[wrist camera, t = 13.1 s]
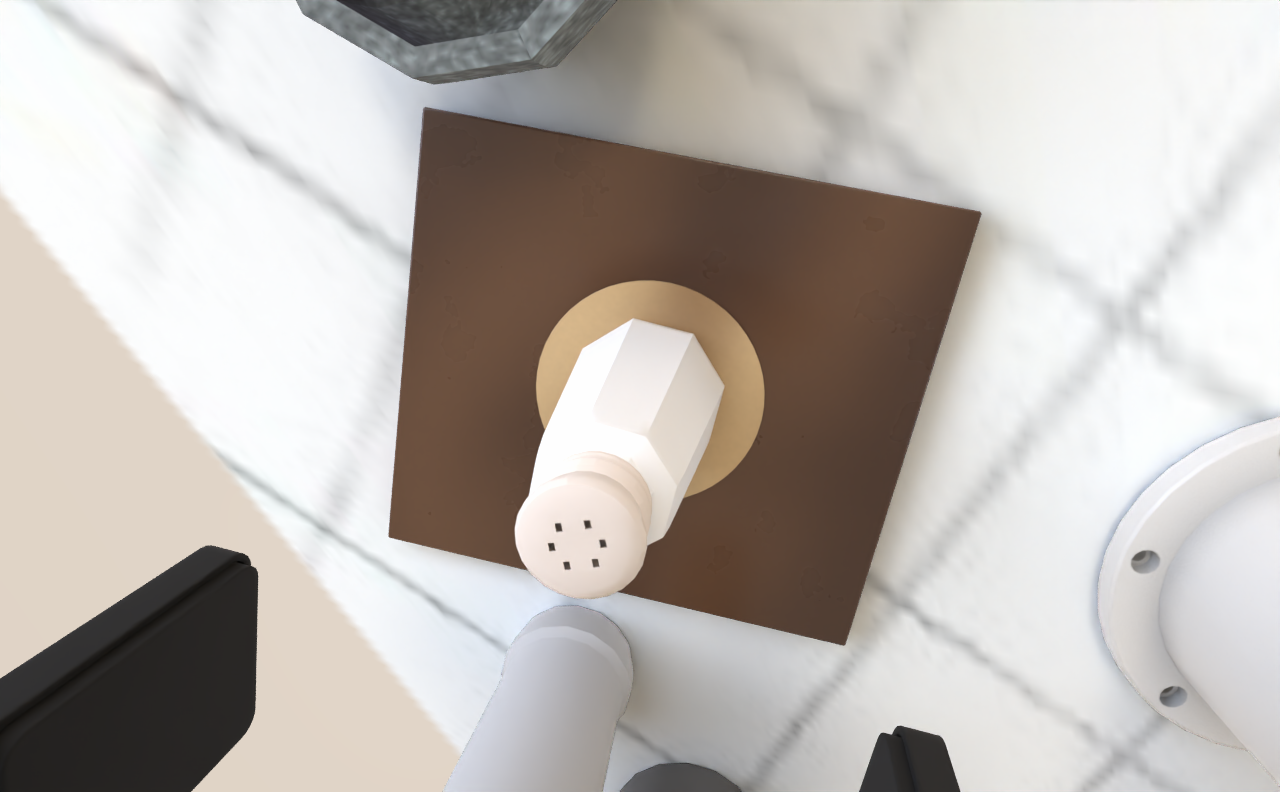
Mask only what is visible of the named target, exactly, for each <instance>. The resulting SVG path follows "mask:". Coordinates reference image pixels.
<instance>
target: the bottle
mask: <svg viewBox="0 0 1280 792" xmlns="http://www.w3.org/2000/svg"><path fill="white" fill-rule="evenodd" d="M501 675H502V678H501V680H500V682H499V684H498V686H497V688H496V690H495V692H494V694H493V696H492V698H491V700H490V701H489V703H488V705H487V707H486V709H485V711H484V713H483V715H482V717H481V719H480V721H479V723H478V724H477V726H476V728H475V730H474V732H473V734H472V736H471V738H470V740H469V742H468V744H467V746H466V747H465V749H464V751H463V753H462V755H461V757H460V759H459V761H458V763H457V765H456V767H455V769H454V770H453V772H452V775H451V776H450V779H449V780H448V782H447V784H446V786H445V788H444V790H443V791H442V792H603V787H604V782H605V777H606V773H607V768H608V763H609V758H610V753H611V749H612V744H613V739H614V734H615V729H616V725H617V720H618V719H619V718H620V717H621V716H622V715H623V714H624V713H625V710H626V706H627V703H628V700H629V697H630V694H631V689H632V684H633V676H634V675H633V665H632V659H631V653H630V647H629V643H628V642H627V640H626V639H625V637H624V636H623V634H622V633H621V631H620V629H619V628H618V626H617V625H615V624H614V623H613V622H611V621H610V620H609V619H607V618H606V617H605V616H603V615H602V614H601V613H599V612H596V611H593V610H590V609H587V608H583V607H580V606H557V607H553V608H551V609H549V610H547V611H545V612H542V613H540V614H538V615H536V616H535V617H533V618H532V619H531V620H530V621H529V623H528V624H527V625H526V626H525V627H524V628H523V630H522V631H521V632H520V633H519V634H518V635H517V637H516V638H515V639H514V641H513V642H512V644H511V646H510V647H509V649H508V651H507V653H506V657H505V661H504V665H503V669H502V673H501Z"/></svg>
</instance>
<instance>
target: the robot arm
mask: <svg viewBox="0 0 1280 792" xmlns="http://www.w3.org/2000/svg"><path fill="white" fill-rule="evenodd" d="M257 604H258V572H257V570H256V568H254V567H252V566H251V562H250V559H249V558H248V556H247V555H245V554H243V553H239V552H235V551H231V550H227V549H223V548H220V547H216V546H205V547H203V548H200V549H199V550H197V551H196V552H194V553H193V554H191V555H189V556H188V557H186V558H185V559H184V560H182V561H180V562H179V563H177V564H176V565H174V566H173V567H171V568H170V569H168V570H166V571H165V572H164V573H162V574H160V575H159V576H157V577H156V578H154V579H153V580H151V581H149V582H148V583H146V584H145V585H143V586H142V587H140V588H139V589H137V590H136V591H134V592H133V593H131V594H129V595H128V596H126V597H125V598H123V599H122V600H120V601H119V602H117V603H116V604H114V605H113V606H111V607H110V608H108V609H107V610H105V611H103V612H102V613H100V614H99V615H97V616H96V617H94V618H93V619H92V620H90V621H88V622H87V623H85V624H83V625H82V626H80V627H79V628H77V629H76V630H74V631H73V632H71V633H70V634H68V635H67V636H65V637H63V638H62V639H60V640H59V641H57V642H56V643H54V644H53V645H51V646H50V647H48V648H46V649H45V650H43V651H42V652H40V653H39V654H37V655H36V656H34V657H33V658H31V659H30V660H28V661H26V662H25V663H23V664H22V665H20V666H19V667H17V668H16V669H14V670H13V671H11V672H10V673H8V674H7V675H5V676H3V677H2V678H0V792H191V791H192V790H193V789H194V788H195V787H196V786H197V785H198V784H199V783H200V782H201V781H202V780H203V778H204V777H205V776H206V775H207V774H208V773H209V772H210V771H211V770H212V769H213V768H214V767H215V766H216V765H217V764H218V763H219V761H220V760H221V759H222V758H223V757H224V756H225V755H226V754H227V753H228V752H229V751H230V750H231V749H232V748H233V747H234V745H235V744H236V743H237V742H238V741H239V740H240V739H241V738H242V737H243V736H244V734H245V733H246V732H247V730H248V728H249V727H250V725H251V723H252V720H253V717H254V714H255V701H256V697H255V696H256V653H257V652H256V651H257V606H258V605H257ZM1098 615H1099V619H1100V624H1101V628H1102V633H1103V637H1104V640H1105V642H1106V644H1107V646H1108V648H1109V650H1110V652H1111V654H1112V656H1113V658H1114V660H1115V662H1116V664H1117V666H1118V667H1119V669H1120V670H1121V671H1122V672H1123V674H1124V675H1125V676H1126V678H1127V679H1128V680H1129V682H1130V683H1131V685H1132V686H1133V687H1134V689H1135V690H1136V692H1137V693H1138V694H1139V695H1140V696H1141V697H1142V698H1143V699H1144V700H1145V701H1146V702H1147V703H1148V704H1149V705H1150V706H1151V707H1152V708H1153V709H1154V710H1155V711H1157V712H1158V713H1159V714H1161V715H1162V716H1164V717H1165V718H1167V719H1168V720H1170V721H1172V722H1173V723H1175V724H1176V725H1178V726H1179V727H1181V728H1182V729H1184V730H1185V731H1188V732H1190V733H1192V734H1195V735H1197V736H1200V737H1202V738H1204V739H1207V740H1209V741H1212V742H1214V743H1216V744H1220V745H1224V746H1228V747H1233V748H1237V749H1241V750H1245V751H1249V752H1250V753H1251V754H1252V756H1253V757H1254V758H1255V759H1256V760H1257V761H1258V762H1259V764H1260V765H1261V766H1262V767H1263V768H1264V769H1265V771H1266V772H1267V773H1268V774H1269V775H1270V776H1271V777H1272V779H1273V780H1274V781H1275V782H1276V783H1277V784H1278V785H1279V787H1280V417H1276V418H1273V419H1269V420H1266V421H1262V422H1259V423H1256V424H1252V425H1249V426H1245V427H1242V428H1239V429H1237V430H1235V431H1233V432H1231V433H1228V434H1226V435H1224V436H1222V437H1220V438H1218V439H1215V440H1213V441H1211V442H1209V443H1207V444H1205V445H1203V446H1201V447H1200V448H1198V449H1197V450H1195V451H1194V452H1192V453H1191V454H1189V455H1188V456H1186V457H1185V458H1183V459H1182V460H1180V461H1178V462H1177V463H1175V464H1174V465H1172V466H1171V467H1169V468H1168V469H1167V470H1166V471H1165V472H1164V473H1163V474H1162V475H1161V476H1160V477H1159V478H1158V479H1157V480H1155V481H1154V482H1153V483H1152V484H1151V485H1150V486H1149V487H1148V488H1147V489H1146V490H1145V491H1144V492H1143V493H1142V494H1141V495H1140V496H1139V497H1138V499H1137V500H1136V501H1135V503H1134V504H1133V505H1132V507H1131V508H1130V509H1129V511H1128V512H1127V513H1126V515H1125V516H1124V517H1123V519H1122V520H1121V521H1120V523H1119V525H1118V527H1117V529H1116V531H1115V533H1114V535H1113V537H1112V539H1111V542H1110V544H1109V546H1108V548H1107V550H1106V552H1105V556H1104V560H1103V564H1102V568H1101V572H1100V576H1099V580H1098ZM859 792H960V789H959V786H958V783H957V780H956V776H955V773H954V770H953V767H952V764H951V761H950V757H949V754H948V751H947V748H946V745H945V743H944V740H943V738H941V737H940V736H938V735H934V734H930V733H926V732H923V731H919V730H915V729H911V728H907V727H904V726H897V727H896V728H895V730H894V731H893V734H892V735H890V734H887V733H881V734H880V735H879V737H878V739H877V742H876V745H875V748H874V751H873V753H872V756H871V759H870V762H869V765H868V768H867V771H866V774H865V776H864V779H863V782H862V785H861V788H860V791H859Z"/></svg>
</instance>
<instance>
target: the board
mask: <svg viewBox="0 0 1280 792" xmlns="http://www.w3.org/2000/svg"><path fill="white" fill-rule="evenodd" d="M980 217H981V212H980V211H974V210H969V209H964V208H958V207H953V206H948V205H942V204H937V203H932V202H926V201H921V200H916V199H910V198H905V197H900V196H894V195H889V194H884V193H879V192H873V191H868V190H863V189H857V188H852V187H847V186H841V185H836V184H831V183H825V182H820V181H815V180H809V179H804V178H799V177H794V176H788V175H783V174H778V173H772V172H767V171H762V170H756V169H751V168H746V167H740V166H735V165H730V164H724V163H719V162H714V161H708V160H703V159H698V158H693V157H687V156H682V155H677V154H671V153H666V152H661V151H655V150H650V149H645V148H639V147H634V146H629V145H623V144H618V143H613V142H608V141H602V140H597V139H592V138H586V137H581V136H576V135H570V134H565V133H560V132H554V131H549V130H544V129H538V128H533V127H528V126H522V125H517V124H512V123H507V122H501V121H496V120H491V119H485V118H480V117H475V116H469V115H464V114H459V113H453V112H448V111H443V110H437V109H432V108H427V107H425V108H424V109H423V119H422V131H421V143H420V156H419V168H418V180H417V192H416V205H415V217H414V229H413V241H412V254H411V266H410V278H409V290H408V303H407V315H406V327H405V339H404V352H403V364H402V376H401V388H400V401H399V413H398V425H397V437H396V450H395V462H394V474H393V487H392V499H391V511H390V523H389V537H390V538H394V539H398V540H402V541H406V542H410V543H415V544H419V545H423V546H427V547H431V548H436V549H440V550H444V551H448V552H452V553H457V554H461V555H465V556H469V557H473V558H478V559H482V560H486V561H490V562H494V563H499V564H503V565H507V566H511V567H515V568H520V569H524V570H528V569H527V567H526V566H525V565H524V563H523V562H522V560H521V557H520V555H519V552H518V549H517V547H516V540H515V525H516V520H517V515H518V512H519V511H520V509H521V507H522V505H523V503H524V501H525V500H526V499H527V498H528V496H529V493H530V487H531V482H532V477H533V472H534V467H535V462H536V457H537V453H538V450H539V446H540V443H541V440H542V437H543V434H544V432H545V430H546V428H547V425H548V423H549V421H550V419H551V417H552V414H553V412H554V410H555V408H556V406H557V403H558V401H559V399H560V397H561V395H562V393H563V390H564V388H565V386H566V384H567V382H568V379H569V377H570V375H571V373H572V371H573V368H574V366H575V364H576V362H577V360H578V358H579V355H580V353H581V351H582V349H583V348H584V347H586V346H588V345H589V344H591V343H593V342H594V341H596V340H598V339H599V338H601V337H603V336H604V335H606V334H608V333H609V332H611V331H613V330H615V329H616V328H618V327H620V326H621V325H623V324H625V323H626V322H628V321H630V320H631V319H633V318H635V319H639V320H642V321H646V322H650V323H654V324H658V325H662V326H666V327H669V328H673V329H677V330H681V331H685V332H689V333H692V334H694V335H695V337H696V339H697V340H698V342H699V344H700V345H701V347H702V349H703V350H704V352H705V354H706V355H707V357H708V359H709V360H710V362H711V364H712V365H713V367H714V369H715V370H716V372H717V374H718V375H719V377H720V379H721V380H722V382H723V384H724V385H725V387H724V391H723V394H722V398H721V401H720V405H719V408H718V412H717V415H716V419H715V422H714V426H713V430H712V433H711V437H710V440H709V443H708V445H707V447H706V449H705V452H704V454H703V456H702V458H701V460H700V462H699V465H698V467H697V469H696V471H695V473H694V475H693V478H692V480H691V482H690V484H689V486H688V488H687V491H686V493H685V495H684V497H683V499H682V501H681V504H680V506H679V508H678V510H677V512H676V514H675V517H674V519H673V521H672V523H671V525H670V527H669V529H668V530H667V532H666V534H665V535H664V537H663V538H661V539H659V540H657V541H655V542H653V543H651V544H649V545H647V550H646V554H645V558H644V562H643V565H642V567H641V569H640V570H639V572H638V574H637V575H636V577H635V578H634V579H633V580H632V581H631V582H630V583H629V584H628V585H627V586H625V587H624V588H623V589H622V590H620V591H617V592H620V593H625V594H629V595H633V596H637V597H641V598H646V599H650V600H654V601H658V602H663V603H667V604H671V605H675V606H679V607H684V608H688V609H692V610H696V611H700V612H705V613H709V614H713V615H717V616H721V617H726V618H730V619H734V620H738V621H742V622H747V623H751V624H755V625H759V626H763V627H768V628H772V629H776V630H780V631H784V632H789V633H793V634H797V635H801V636H805V637H810V638H814V639H818V640H822V641H826V642H831V643H835V644H839V645H843V646H844V645H845V644H846V641H847V638H848V635H849V632H850V629H851V625H852V622H853V619H854V616H855V613H856V610H857V606H858V603H859V600H860V597H861V594H862V591H863V587H864V584H865V581H866V578H867V575H868V572H869V568H870V565H871V562H872V559H873V556H874V553H875V549H876V546H877V543H878V540H879V537H880V534H881V530H882V527H883V524H884V521H885V518H886V515H887V511H888V508H889V505H890V502H891V499H892V496H893V492H894V489H895V486H896V483H897V480H898V477H899V473H900V470H901V467H902V464H903V461H904V458H905V454H906V451H907V448H908V445H909V442H910V439H911V435H912V432H913V429H914V426H915V423H916V420H917V416H918V413H919V410H920V407H921V404H922V401H923V397H924V394H925V391H926V388H927V385H928V382H929V378H930V375H931V372H932V369H933V366H934V363H935V359H936V356H937V353H938V350H939V347H940V344H941V340H942V337H943V334H944V331H945V328H946V325H947V321H948V318H949V315H950V312H951V309H952V306H953V302H954V299H955V296H956V293H957V290H958V287H959V283H960V280H961V277H962V274H963V271H964V268H965V264H966V261H967V258H968V255H969V252H970V249H971V245H972V242H973V239H974V236H975V233H976V230H977V227H978V223H979V220H980ZM528 571H529V570H528Z"/></svg>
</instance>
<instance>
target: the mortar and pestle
mask: <svg viewBox="0 0 1280 792" xmlns="http://www.w3.org/2000/svg"><path fill="white" fill-rule="evenodd" d="M296 1H297V3H298V5H299V7H300V9H301V11H302V13H303V14H304V15H305V16H307V17H309V18H310V19H312V20H314V21H315V22H317V23H319V24H321V25H322V26H324V27H326V28H327V29H329V30H331V31H333V32H334V33H336V34H338V35H339V36H341V37H343V38H344V39H346V40H348V41H350V42H351V43H353V44H355V45H356V46H358V47H360V48H361V49H363V50H365V51H367V52H368V53H370V54H372V55H373V56H375V57H377V58H379V59H380V60H382V61H384V62H385V63H387V64H389V65H390V66H392V67H394V68H396V69H397V70H399V71H401V72H402V73H404V74H406V75H408V76H409V77H411V78H413V79H417V80H420V81H424V82H427V83H431V84H442V83H450V82H458V81H464V80H471V79H477V78H484V77H490V76H496V75H503V74H509V73H516V72H522V71H529V70H535V69H542V68H548V67H555V66H557V65H558V64H559V63H560V62H561V61H562V60H563V59H564V58H565V57H566V55H567V54H568V53H569V52H570V51H571V50H572V49H573V48H574V47H575V46H576V45H577V44H578V42H579V41H580V40H581V39H582V38H583V37H584V36H585V35H586V34H587V33H588V32H589V30H590V29H591V28H592V27H593V26H594V25H595V24H596V23H597V22H598V21H599V20H600V18H601V17H602V16H603V15H604V14H605V13H606V12H607V11H608V10H609V9H610V8H611V6H612V5H613V4H614V3H615V2H616V1H617V0H296Z"/></svg>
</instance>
